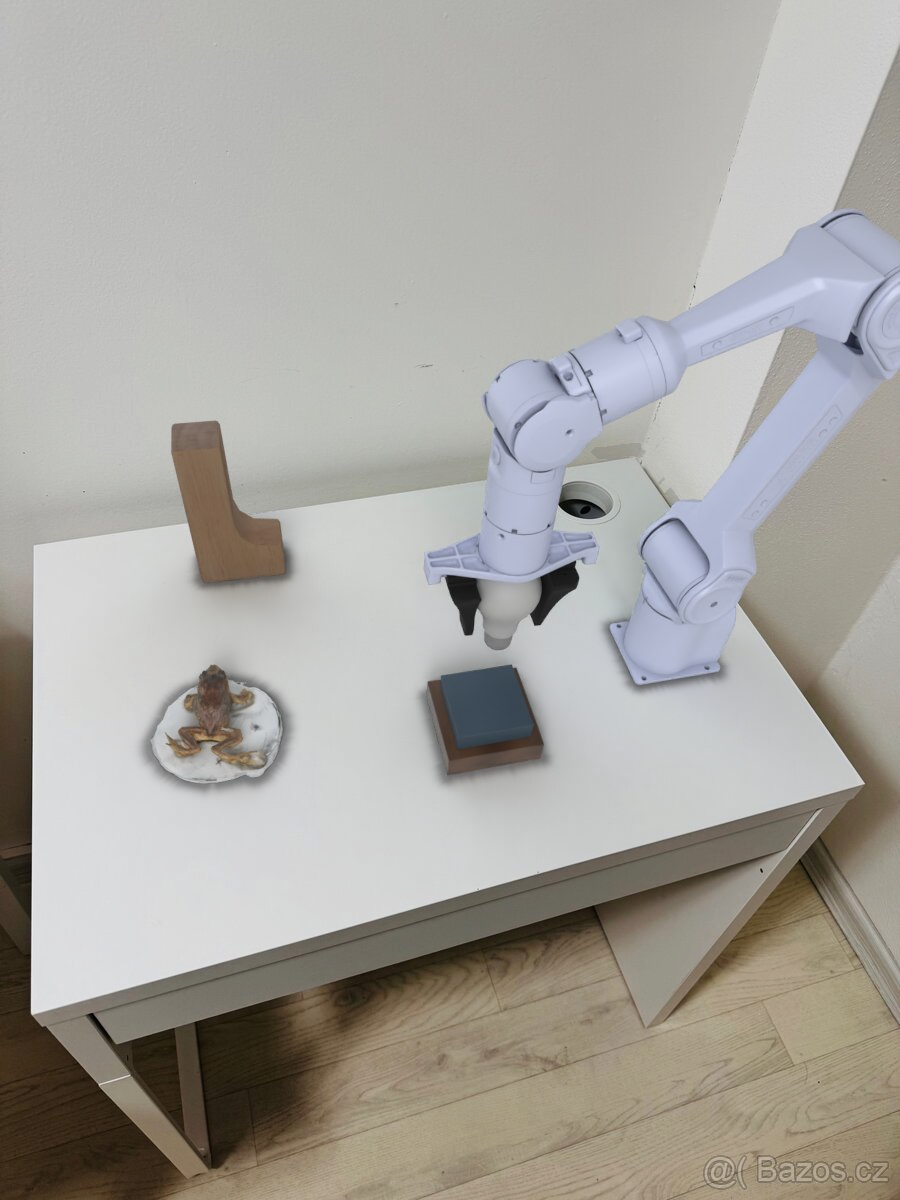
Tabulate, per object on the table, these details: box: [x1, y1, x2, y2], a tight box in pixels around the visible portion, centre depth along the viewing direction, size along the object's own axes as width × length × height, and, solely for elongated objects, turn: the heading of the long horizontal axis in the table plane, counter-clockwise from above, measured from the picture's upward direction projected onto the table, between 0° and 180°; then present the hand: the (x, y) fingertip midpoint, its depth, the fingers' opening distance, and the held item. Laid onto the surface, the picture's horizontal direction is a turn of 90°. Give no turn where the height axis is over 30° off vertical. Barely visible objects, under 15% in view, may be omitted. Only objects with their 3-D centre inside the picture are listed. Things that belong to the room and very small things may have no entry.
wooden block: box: [170, 420, 287, 584], centre depth 86 cm, size 9×4×18 cm, turn 102°
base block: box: [425, 667, 545, 776], centre depth 79 cm, size 9×9×2 cm
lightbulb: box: [476, 577, 542, 651], centre depth 74 cm, size 6×6×11 cm
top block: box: [439, 664, 533, 750], centre depth 78 cm, size 7×7×2 cm
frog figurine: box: [149, 664, 284, 785], centre depth 77 cm, size 12×12×4 cm
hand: (501, 622), depth 75 cm, fingers closed on lightbulb, 6 cm apart
